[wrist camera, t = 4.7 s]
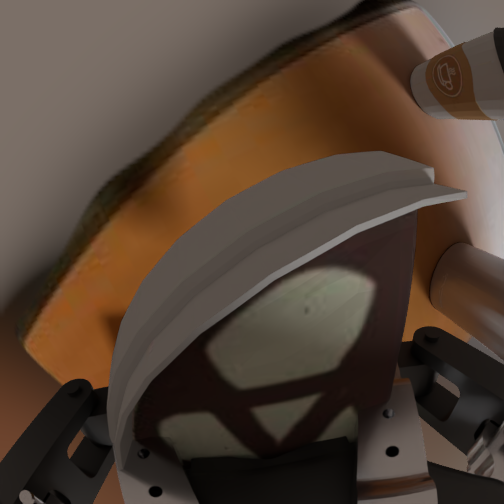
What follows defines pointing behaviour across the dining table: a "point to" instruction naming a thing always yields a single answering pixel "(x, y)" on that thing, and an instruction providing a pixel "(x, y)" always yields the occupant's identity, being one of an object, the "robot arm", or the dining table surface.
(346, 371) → the food container
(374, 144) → the dining table surface
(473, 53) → the coffee cup
